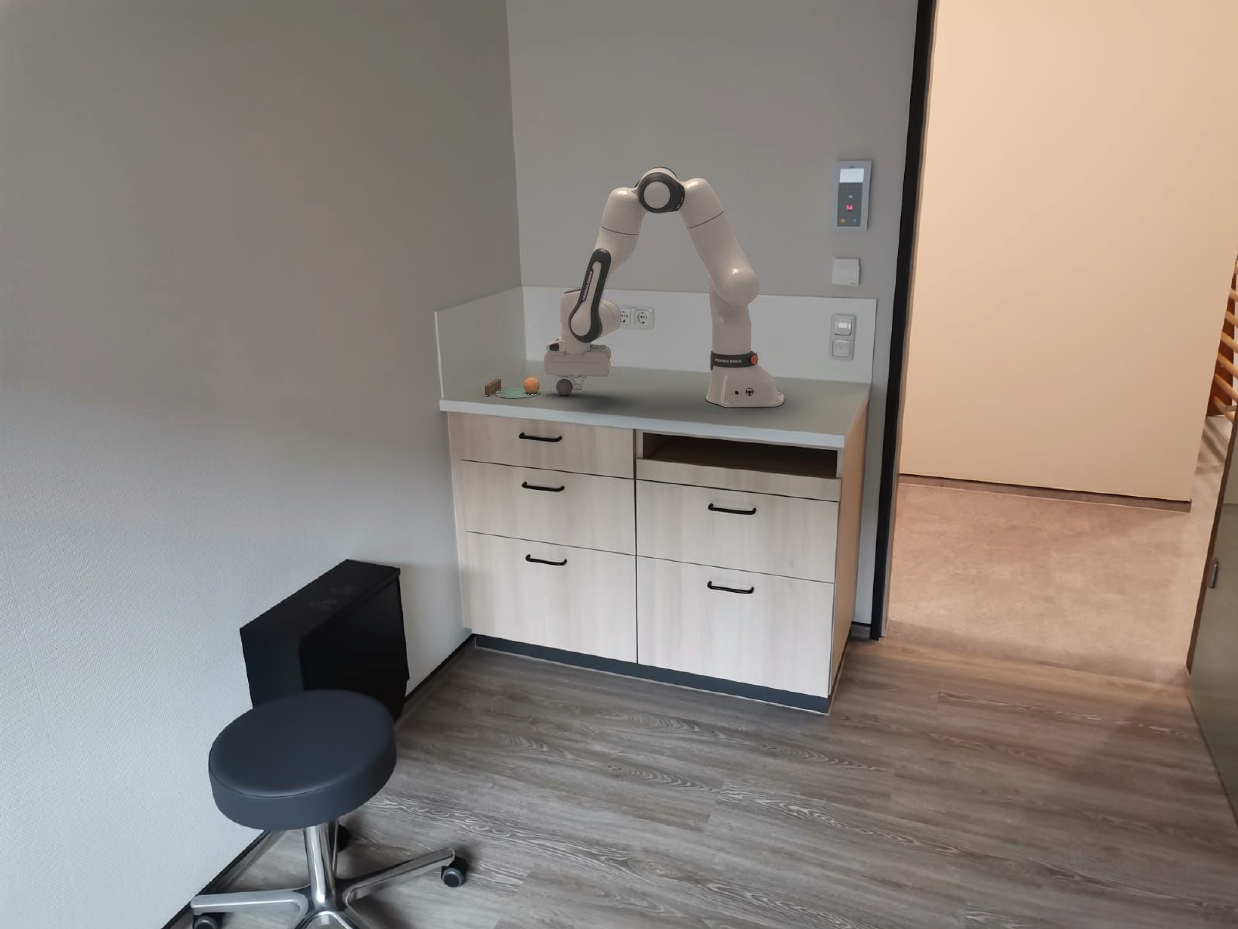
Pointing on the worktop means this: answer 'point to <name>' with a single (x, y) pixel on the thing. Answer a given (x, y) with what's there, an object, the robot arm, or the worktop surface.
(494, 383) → the stopper bar
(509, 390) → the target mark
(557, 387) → the dark gray ball
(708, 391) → the robot arm
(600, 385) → the worktop surface
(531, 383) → the object ball
